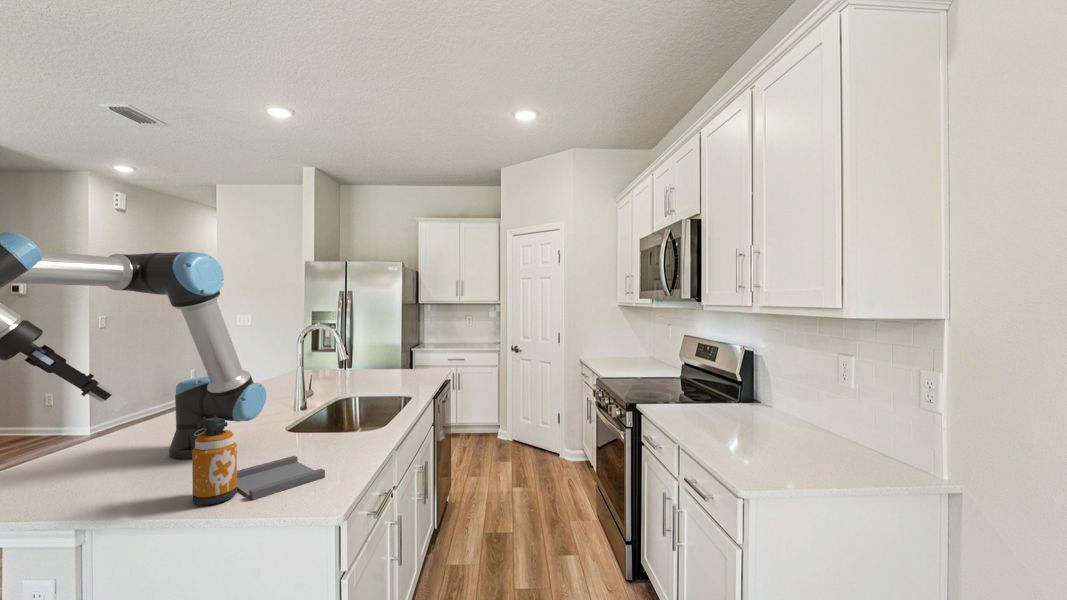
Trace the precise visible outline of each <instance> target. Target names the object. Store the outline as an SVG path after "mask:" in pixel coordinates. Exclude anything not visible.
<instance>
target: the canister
mask: <svg viewBox="0 0 1067 600" xmlns="http://www.w3.org/2000/svg"><path fill="white" fill-rule="evenodd" d="M202 424H203V428H201V429H200V426H201V425H202ZM228 425H229V424H228V422H227V421H226V420H225V419H220V418H217V417H216V416H215V415H214V416H213V417H212V418H210V419H206V418H205V417H204V418H203V419H202V420H201V421H200V422H199V423H198V424H197V428H198V431H197V432H198V435H195V434H196V433H197V432H195V433H194V436H197V438H196V440H195V448H194V449H193V450H192V459H191V460H192V461H191V463H192V466H191V467H192V469H191V470H192V474H191V475H192V503H194V504H197V505H203V504H204V505H205V506H207V505H208V506H209V504H210V505H215V503H216V504H219V502H220V503H222V501H223V502H225V501H227V500H229V499H231V498H233V497H234V496H236V495H237V493H238V490H237V471H238V450H237V449H238V444H237V442H235V435H234V432H233V431H232V430H228V429H225V427H228ZM223 429H224V430H223ZM205 431H206V432H205ZM204 432H205V433H204Z"/></svg>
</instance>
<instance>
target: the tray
mask: <svg viewBox="0 0 1067 600" xmlns="http://www.w3.org/2000/svg"><path fill="white" fill-rule="evenodd" d="M325 478H326V471H325V469H323V468H319V469H314V468H311V467H308V466H307V465H305V464H303V463H301V462H299V461H298V456H296V455H291V456H288V457H284V458H281V459H276V460H273V461H269V462H266V463H264V462H263V463H261V464H258V465H257V464H256V465H253V466H250V467H247V468H246V467H245V468H242V469H239V470H238V469H237V489H238V490H237V491H239V492H240V491H241V492H242V493H241V492H240V493H241V494H243V495H244V494H245V495H244V496H246V497H247V496H248V497H247V498H249V499H250V500H252V501H255V500H258V499H261V498H265V497H267V496H270V495H274V494H277V493H281V492H283V491H287V490H290V489H292V488H296V487H298V486H302V485H305V484H308V483H311V482H315V481H318V480H322V479H325Z"/></svg>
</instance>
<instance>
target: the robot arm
mask: <svg viewBox="0 0 1067 600" xmlns="http://www.w3.org/2000/svg"><path fill="white" fill-rule="evenodd" d="M224 279H225V275H224V270H223V268H222V266H221V265H220V263H219V262H218V261H217V260H216V259H215V258H214V257H213V256H211V255H209V254H207V253H203V252H196V251H179V252H178V251H177V252H176V251H175V252H150V253H137V254H136V253H135V254H134V253H133V254H125V253H113V254H110V255H108V256H104V255H103V256H101V255H89V254H77V253H68V252H67V253H65V252H56V251H55V252H54V251H41V249H40V248H39V246H37V244H36V243H35V242H33V240H31V239H29V238H28V237H27V236H25V235H23V234H20V233H18V232H14V231H2V232H0V289H2V288H4V287H5V286H6V285H8V284H23V285H25V284H27V285H28V284H29V285H60V286H92V287H93V286H95V287H107V288H109V289H111V290H113V291H124V292H125V291H126V292H134V293H135V292H137V293H141V294H142V293H143V294H150V295H151V294H152V295H162V296H164V295H165V296H167V298H168V300H169V303H170V305H171V307H173V308H175V309H177V310H180V311H181V314H182V316H183V318H184V321H185V323H186V326H187V327H188V330H189V333H190V335H191V337H192V340H193V343H194V344H195V345H194V346H195V347H196V350H197V352H198V355H199V357H200V360H201V361H202V364H203V367H204V370H205V371H206V373H207V376H205V377H197V378H193V379H188V380H183V381H180V382H179V383H178V384H176V387H175V395H174V398H175V399H174V403H175V425H176V426H175V432H174V435H173V437H172V440H171V443H170V446H169V449H168V456H169V458H171V459H175V460H192V450H193V449H194V448H195V440H196V438H197V436H194V433H195V432H197V431H198V428H197V424H198V423H199V422H200V421H201V420H202V419H203V418H204V417H205V418H206V419H210V418H212V417H213V416H214V415H215V416H216V417H217V418H220V419H225V422H227V421H229V422H237V423H239V422H249V421H251V420H252V421H253V419H255V418H257V417H258V416H259V415H260V413H261V412H262V411H263V409H264V407H265V404H266V402H267V390H266V388H265V386H264V385H263V384H261V383H260V382H254V380H253V378H252V375H251V373H250V372H249V371H248V370H244V369H243V367H242V365H241V362H240V360H239V357H238V353H237V351H236V348H235V346H234V343H233V340H232V338H231V335H230V334H229V330H228V328H227V325H226V322H225V320H224V317H223V315H222V312H221V309H220V306H219V304H218V299H219V297H220V296H221V289H222V287H223V285H224V282H223V281H225V280H224ZM21 318H22V317H21V315H20V314H18V313H17V312H15V311H14V310H12V309H11V308H9V307H8V306H6V305H5V304H3V303H1V302H0V360H1V361H8V360H11V359H12V358H13V357H15V356H17V355H18V354H19V353H22V354H23V355H25V356H26V358H25V359H24V361H25V362H26V363H28V364H29V365H31V366H33V367H37V368H39V369H41V370H42V371H44V372H46V373H48V374H54V375H56V376H58V377H59V378H61V379H62V380H64V381H66V382H68V383H69V384H71V385H72V386H75V387H76V388H78V389H79V390H80V391H82V392H81V393H80V395H81V396H82V397H85V396H86V395H88V396H89V397H91V398H94V399H95V400H96V401H98V402H100V403H102V404H103V405H105V406H106V407H108V408H109V409H111V410H114V411H115V412H116V413H117V412H119V411H121V409H122V408H123V407H124V406H125V405H127V403H129V400H128V399H126V398H125V397H123V396H121V395H120V394H118V393H117V392H115V391H114V390H111V389H110V388H108V387H107V386H105V385H104V384H103V383H101V382H98V381H97V380H96V379H94V377H95V375H94V374H92V373H88V375H87V374H86V373H84V372H81V371H80V370H78V369H77V368H75V367H74V366H71V365H70V364H68V363H67V359H66V358H65V357H63V356H61V355H59V354H58V353H56V351H55V349H52V347H50V346H48V345H46V344H43V345H42V346H38V345H37V344H35V341H36V340H38V339H40V337H42V335H43V333H44V331H43V330H42V329H41V328H40V327H39V326H36V325H35V324H33V323H32V322H30V321H29V320H25V319H23V320H21ZM201 428H203V424H202V425H201V426H200V429H201ZM223 430H225V429H223ZM205 432H206V431H205ZM205 432H204V433H205ZM195 435H198V432H197V433H196V434H195Z"/></svg>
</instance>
